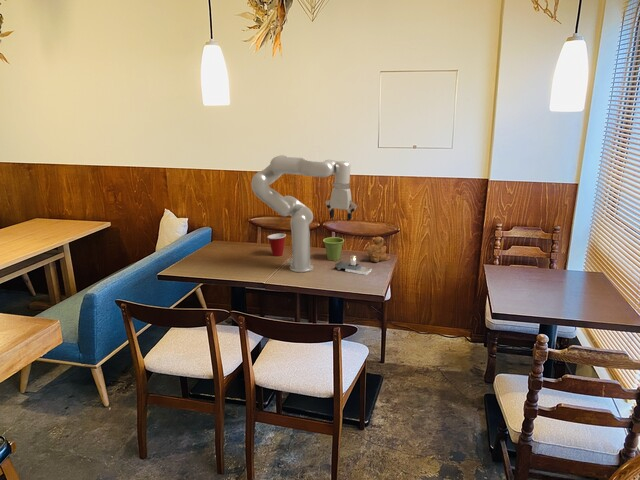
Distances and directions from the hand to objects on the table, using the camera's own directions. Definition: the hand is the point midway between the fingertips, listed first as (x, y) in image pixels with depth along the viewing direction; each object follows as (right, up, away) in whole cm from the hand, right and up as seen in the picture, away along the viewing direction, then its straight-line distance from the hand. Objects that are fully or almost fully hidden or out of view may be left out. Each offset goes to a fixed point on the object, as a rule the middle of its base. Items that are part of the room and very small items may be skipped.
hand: (340, 219), depth 248 cm
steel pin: (+7, -27, +9) cm, 29 cm away
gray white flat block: (+7, -27, +9) cm, 29 cm away
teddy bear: (+22, -22, +25) cm, 40 cm away
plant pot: (-3, -22, +28) cm, 36 cm away
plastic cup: (-36, -20, +36) cm, 54 cm away
